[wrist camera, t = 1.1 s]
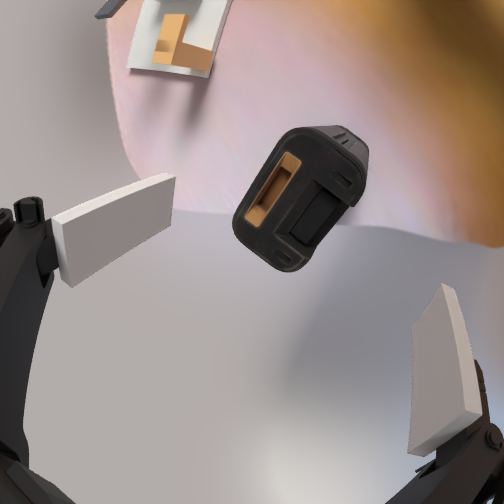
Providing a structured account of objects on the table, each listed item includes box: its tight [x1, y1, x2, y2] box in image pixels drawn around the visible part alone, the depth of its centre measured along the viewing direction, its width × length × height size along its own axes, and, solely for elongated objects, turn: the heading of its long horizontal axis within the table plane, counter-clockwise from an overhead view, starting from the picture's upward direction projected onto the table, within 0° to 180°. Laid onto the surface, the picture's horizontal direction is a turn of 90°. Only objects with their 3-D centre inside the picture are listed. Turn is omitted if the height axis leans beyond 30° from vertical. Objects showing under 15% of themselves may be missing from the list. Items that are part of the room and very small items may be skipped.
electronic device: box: [232, 125, 369, 272], centre depth 26 cm, size 9×6×20 cm, turn 149°
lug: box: [152, 14, 214, 71], centre depth 29 cm, size 6×3×8 cm, turn 164°
